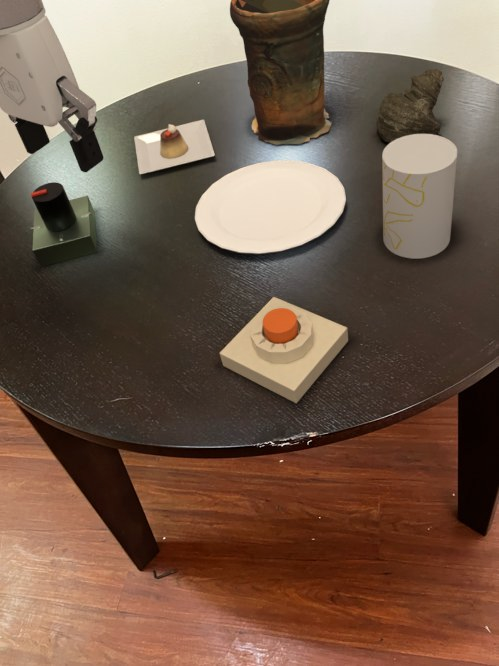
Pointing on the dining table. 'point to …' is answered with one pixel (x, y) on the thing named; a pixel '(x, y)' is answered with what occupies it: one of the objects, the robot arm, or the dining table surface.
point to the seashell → (411, 108)
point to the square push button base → (285, 352)
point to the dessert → (173, 147)
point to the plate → (270, 207)
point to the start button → (280, 325)
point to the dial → (54, 206)
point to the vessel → (284, 66)
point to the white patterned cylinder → (418, 194)
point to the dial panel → (66, 236)
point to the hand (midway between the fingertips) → (65, 156)
